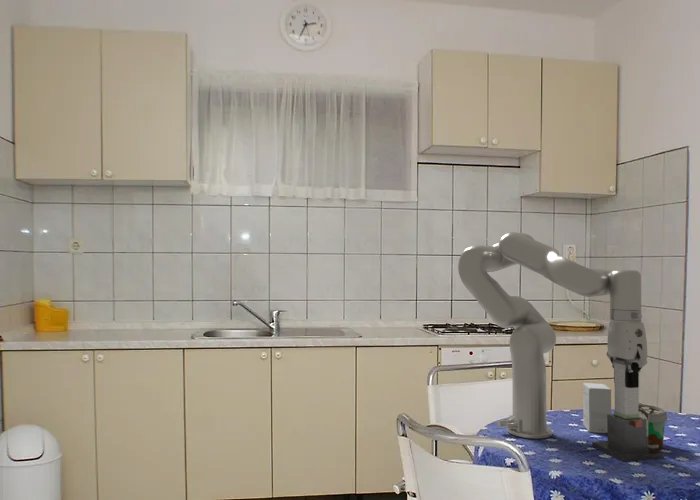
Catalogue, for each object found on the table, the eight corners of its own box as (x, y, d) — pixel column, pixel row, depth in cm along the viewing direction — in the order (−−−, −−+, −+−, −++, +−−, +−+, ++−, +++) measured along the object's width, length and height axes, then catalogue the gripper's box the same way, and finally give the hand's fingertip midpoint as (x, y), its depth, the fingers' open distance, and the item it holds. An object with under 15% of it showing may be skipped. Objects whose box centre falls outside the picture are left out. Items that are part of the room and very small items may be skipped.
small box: (612, 433, 165) (611, 389, 165) (589, 432, 166) (588, 388, 166) (604, 426, 172) (604, 383, 173) (582, 424, 174) (582, 382, 174)
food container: (675, 454, 147) (674, 415, 147) (649, 452, 148) (649, 414, 148) (659, 440, 159) (658, 404, 159) (635, 438, 160) (635, 403, 160)
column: (625, 427, 146) (624, 362, 146) (613, 422, 150) (612, 359, 151) (640, 426, 147) (639, 361, 147) (627, 421, 151) (627, 358, 152)
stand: (623, 461, 141) (622, 424, 141) (592, 446, 153) (592, 412, 153) (663, 457, 144) (663, 421, 144) (630, 443, 155) (629, 409, 156)
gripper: (661, 319, 142) (662, 391, 141) (616, 313, 158) (616, 378, 158) (636, 319, 140) (636, 393, 140) (592, 313, 157) (593, 379, 156)
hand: (626, 384), depth 149 cm, fingers closed on column, 4 cm apart
